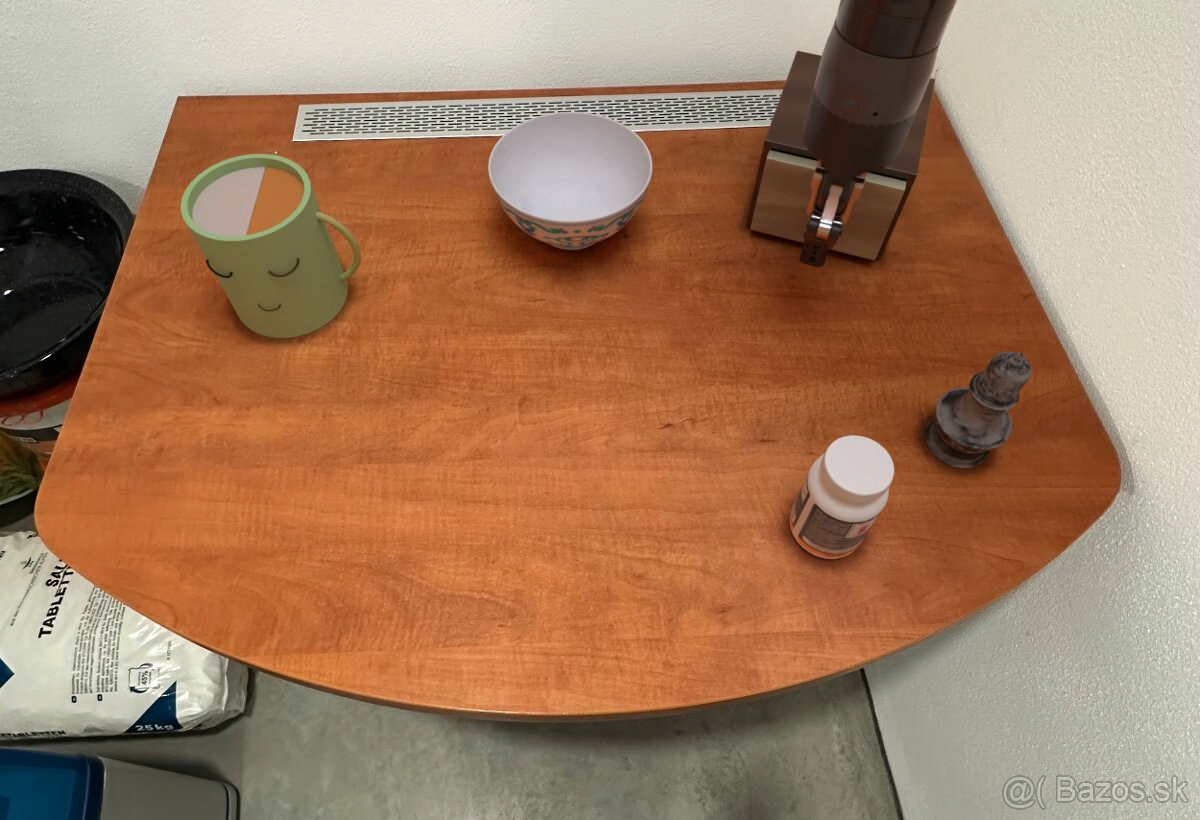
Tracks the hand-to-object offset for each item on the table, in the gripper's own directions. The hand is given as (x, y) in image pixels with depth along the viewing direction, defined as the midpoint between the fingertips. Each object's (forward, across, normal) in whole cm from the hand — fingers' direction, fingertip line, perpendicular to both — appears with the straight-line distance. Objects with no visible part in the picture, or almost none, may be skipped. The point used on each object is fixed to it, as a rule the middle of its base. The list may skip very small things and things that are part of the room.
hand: (812, 259), depth 71 cm
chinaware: (+4, +1, +23) cm, 24 cm away
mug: (+4, -16, +43) cm, 46 cm away
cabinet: (+4, +14, 0) cm, 15 cm away
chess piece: (+5, -12, -16) cm, 20 cm away
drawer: (+4, +12, 0) cm, 12 cm away
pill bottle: (+5, -23, -7) cm, 24 cm away
